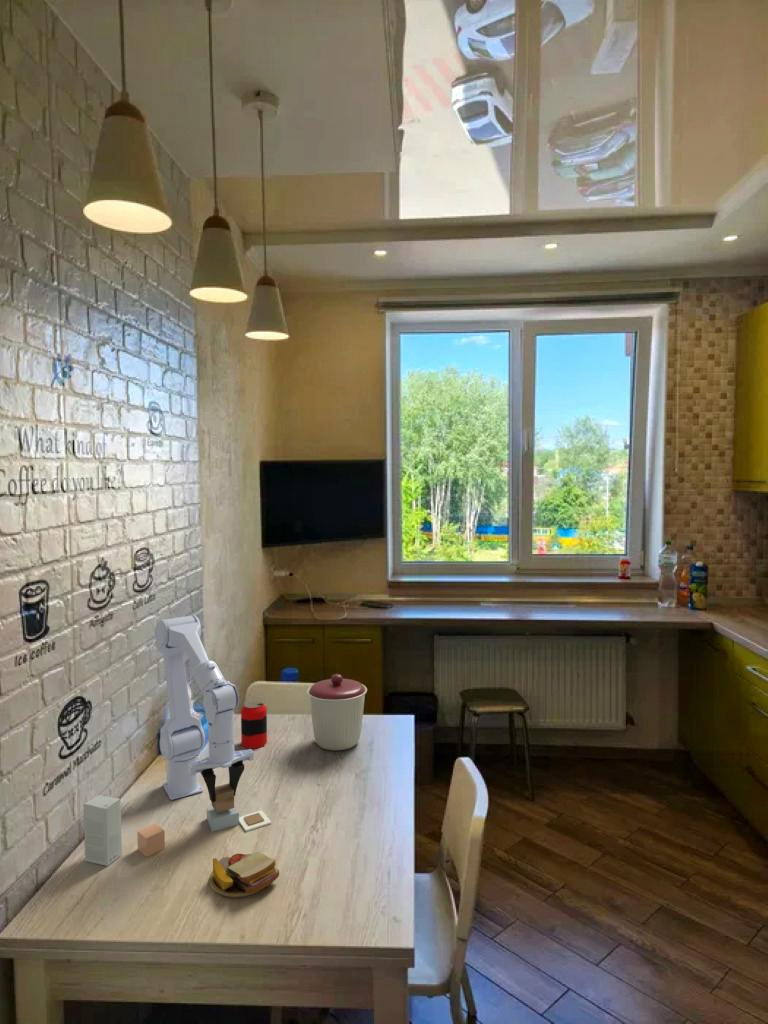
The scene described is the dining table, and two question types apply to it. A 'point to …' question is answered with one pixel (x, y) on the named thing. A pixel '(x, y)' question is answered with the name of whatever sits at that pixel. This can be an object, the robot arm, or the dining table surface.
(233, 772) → the robot arm
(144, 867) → the dining table surface
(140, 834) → the terracotta cube
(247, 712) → the soda can
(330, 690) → the canister
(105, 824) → the skincare box
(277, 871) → the toy sandwich meal
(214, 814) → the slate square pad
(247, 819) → the swatch
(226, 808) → the walnut cube
